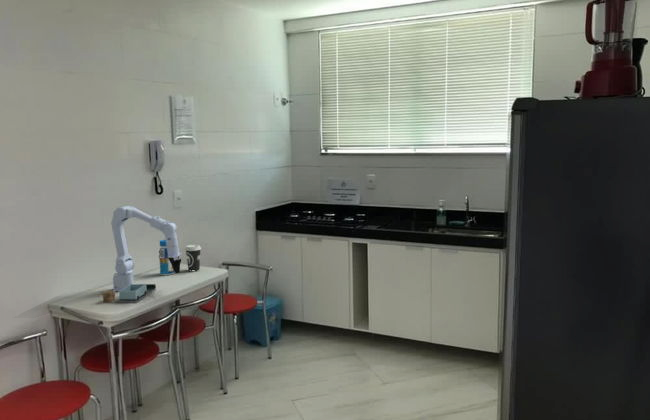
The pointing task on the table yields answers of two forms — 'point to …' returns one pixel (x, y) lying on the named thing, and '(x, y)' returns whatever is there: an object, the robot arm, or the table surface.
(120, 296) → the cart
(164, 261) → the beverage bottle
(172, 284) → the table surface
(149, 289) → the rail
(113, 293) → the walnut block
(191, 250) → the coffee cup
